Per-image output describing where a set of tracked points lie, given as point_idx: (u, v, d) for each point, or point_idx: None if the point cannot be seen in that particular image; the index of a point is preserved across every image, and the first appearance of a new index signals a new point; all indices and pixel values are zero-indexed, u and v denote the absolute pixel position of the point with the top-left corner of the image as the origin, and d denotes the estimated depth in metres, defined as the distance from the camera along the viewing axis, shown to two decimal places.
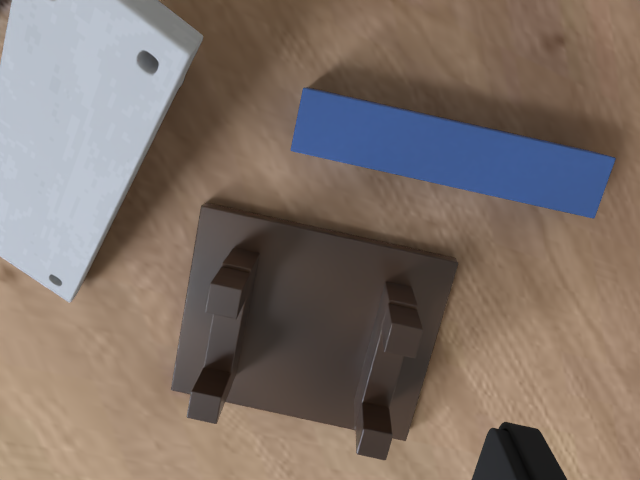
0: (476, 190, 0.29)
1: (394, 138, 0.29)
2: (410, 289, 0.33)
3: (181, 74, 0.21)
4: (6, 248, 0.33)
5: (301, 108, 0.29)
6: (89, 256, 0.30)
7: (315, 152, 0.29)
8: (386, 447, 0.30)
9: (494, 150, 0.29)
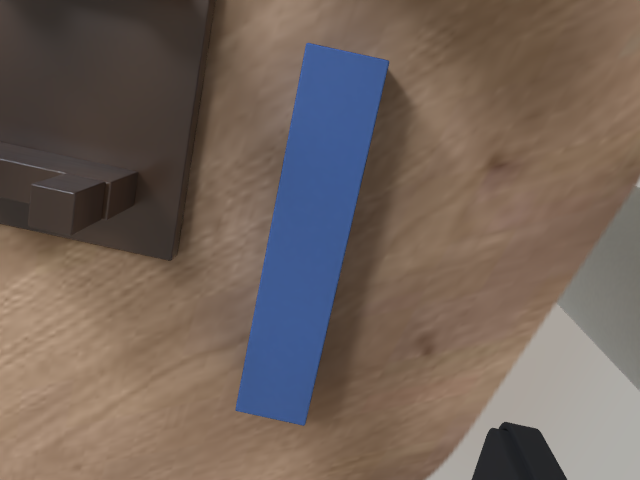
0: (262, 282, 0.24)
1: (324, 181, 0.23)
2: (130, 205, 0.25)
3: None
4: None
5: (362, 58, 0.22)
6: None
7: (305, 78, 0.22)
8: None
9: (311, 299, 0.24)
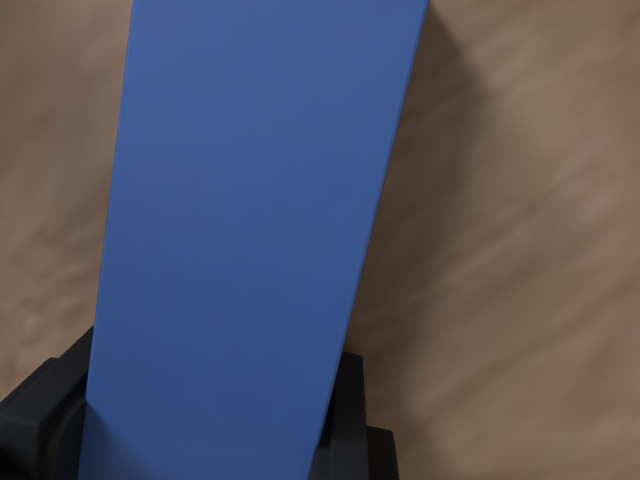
0: None
1: (233, 323, 0.07)
2: None
3: None
4: None
5: None
6: None
7: None
8: None
9: None
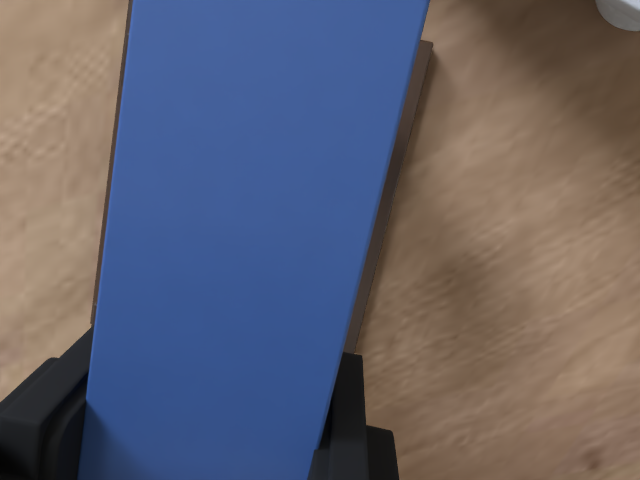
0: None
1: (232, 324, 0.07)
2: None
3: None
4: None
5: None
6: None
7: None
8: None
9: None
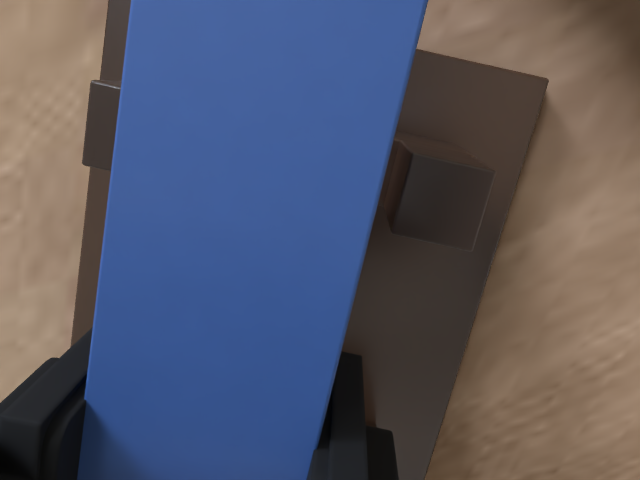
0: None
1: (231, 323, 0.07)
2: None
3: None
4: None
5: None
6: None
7: None
8: None
9: None
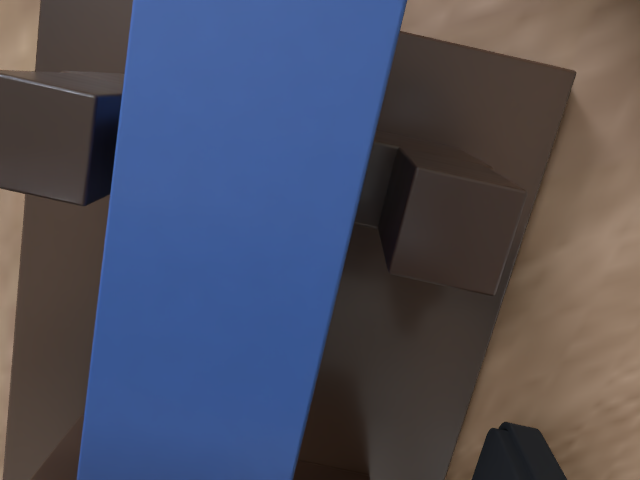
0: None
1: (227, 301, 0.08)
2: None
3: None
4: None
5: None
6: None
7: None
8: None
9: None
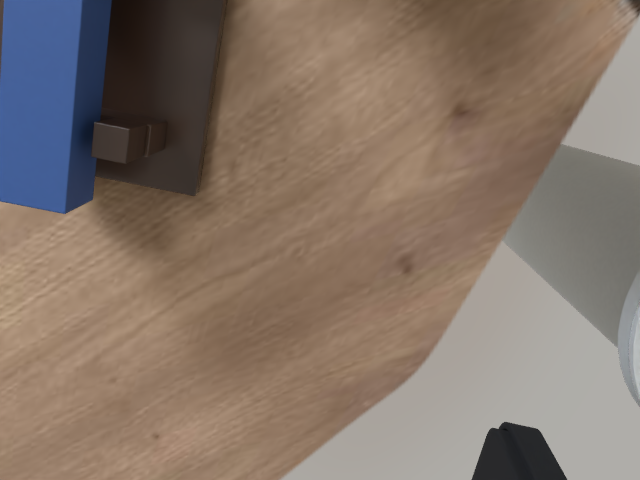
0: (3, 57, 0.24)
1: None
2: (161, 148, 0.31)
3: None
4: None
5: None
6: None
7: None
8: None
9: (54, 74, 0.24)
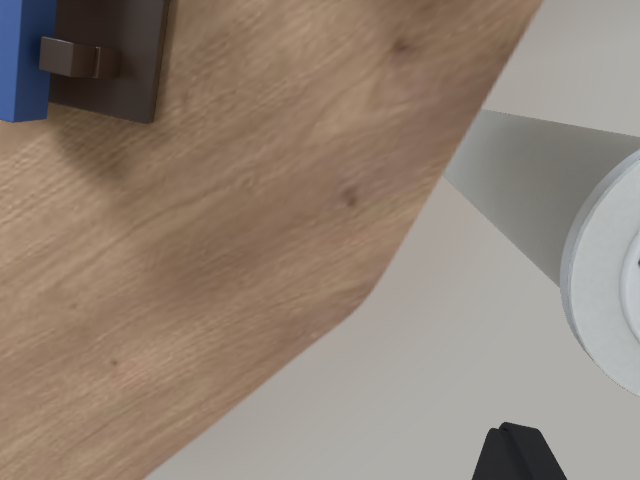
0: None
1: None
2: (115, 75, 0.33)
3: None
4: None
5: None
6: None
7: None
8: None
9: None
